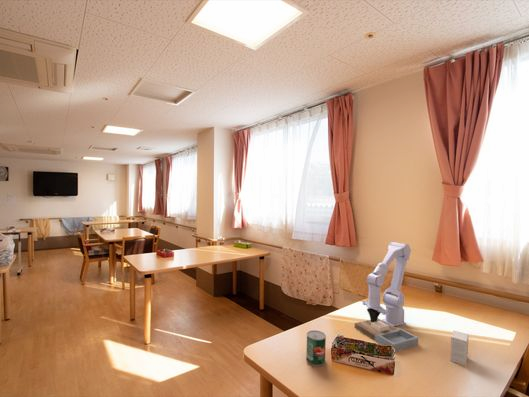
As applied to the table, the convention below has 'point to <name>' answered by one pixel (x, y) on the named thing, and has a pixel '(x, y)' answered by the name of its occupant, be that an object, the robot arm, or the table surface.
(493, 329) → the table surface
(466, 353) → the small box
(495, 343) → the table surface
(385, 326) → the tile
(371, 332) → the board
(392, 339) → the box
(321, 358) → the canned tomato
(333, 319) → the table surface
